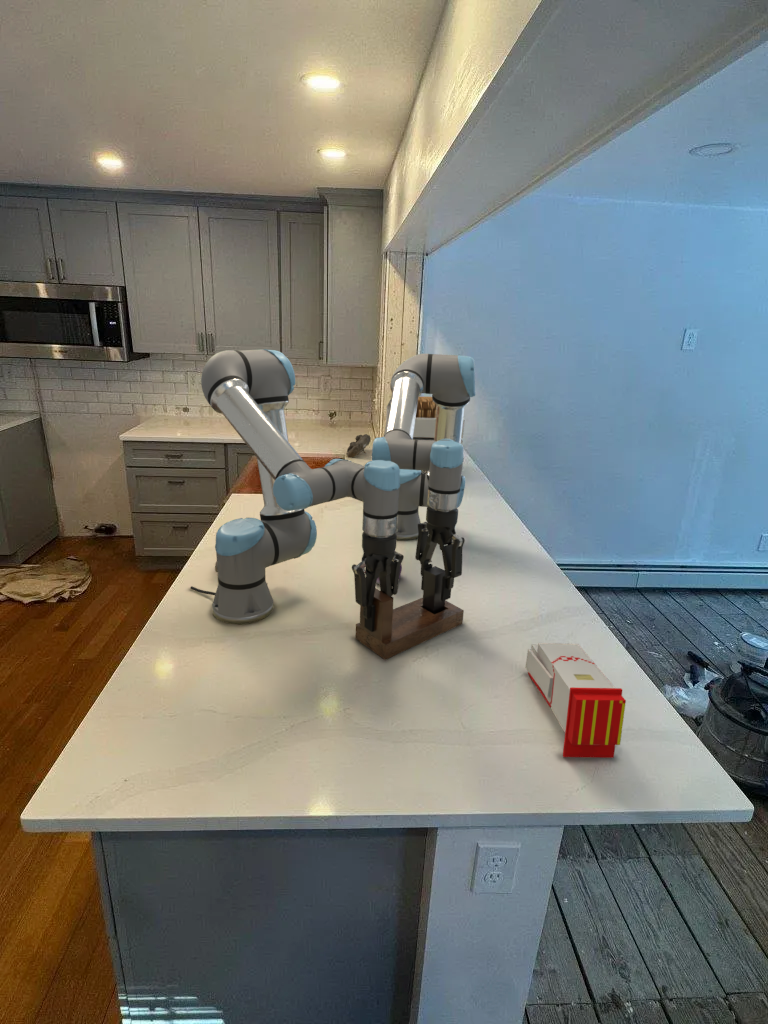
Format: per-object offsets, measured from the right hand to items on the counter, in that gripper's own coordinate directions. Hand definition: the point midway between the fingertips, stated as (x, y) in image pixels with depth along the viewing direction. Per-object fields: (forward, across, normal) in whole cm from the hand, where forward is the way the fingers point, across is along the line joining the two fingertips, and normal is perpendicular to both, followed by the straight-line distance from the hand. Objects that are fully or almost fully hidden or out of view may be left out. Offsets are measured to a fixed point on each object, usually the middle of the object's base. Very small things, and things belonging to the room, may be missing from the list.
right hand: (435, 593), depth 142 cm
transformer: (+8, -102, +94) cm, 138 cm away
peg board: (+8, 0, -8) cm, 11 cm away
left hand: (+2, 0, -20) cm, 20 cm away
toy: (+8, +40, -3) cm, 41 cm away
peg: (+8, 0, 0) cm, 8 cm away
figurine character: (+8, -56, -27) cm, 63 cm away
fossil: (+8, -148, +92) cm, 174 cm away
